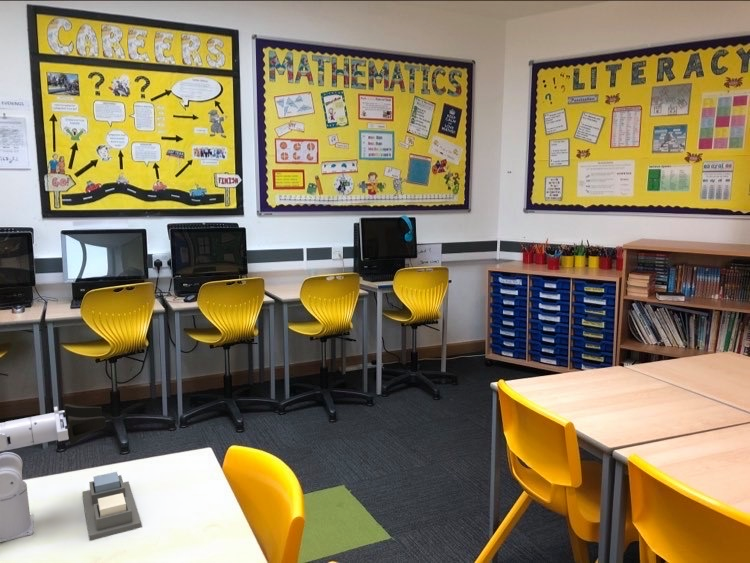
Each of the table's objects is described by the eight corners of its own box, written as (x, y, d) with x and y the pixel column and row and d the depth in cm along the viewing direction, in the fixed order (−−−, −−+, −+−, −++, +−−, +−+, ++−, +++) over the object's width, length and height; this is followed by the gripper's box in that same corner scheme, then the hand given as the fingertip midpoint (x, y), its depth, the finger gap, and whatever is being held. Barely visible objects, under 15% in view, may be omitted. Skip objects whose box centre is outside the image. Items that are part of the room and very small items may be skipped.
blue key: (96, 494, 137) (95, 486, 137) (94, 484, 142) (93, 476, 141) (120, 489, 140) (119, 480, 139) (117, 479, 144) (116, 471, 144)
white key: (100, 518, 128) (99, 509, 128) (98, 507, 132) (97, 498, 132) (126, 512, 130) (125, 503, 130) (123, 501, 135) (122, 492, 134)
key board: (89, 540, 126) (88, 524, 125) (82, 495, 143) (81, 481, 142) (141, 526, 130) (140, 511, 130) (128, 485, 148) (127, 471, 147)
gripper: (30, 422, 122) (104, 408, 128) (30, 402, 134) (98, 390, 141) (34, 456, 123) (108, 440, 129) (34, 433, 135) (101, 420, 142)
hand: (103, 416), depth 135 cm, fingers open, 7 cm apart
